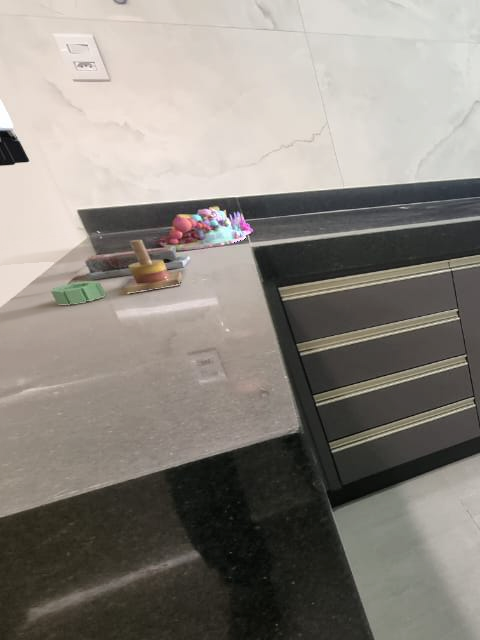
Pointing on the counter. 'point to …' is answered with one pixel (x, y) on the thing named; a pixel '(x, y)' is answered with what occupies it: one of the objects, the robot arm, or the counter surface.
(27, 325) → the counter surface
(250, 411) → the counter surface
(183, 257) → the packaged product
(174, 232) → the candy landscape model
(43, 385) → the counter surface
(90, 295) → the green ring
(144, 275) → the stacking stand
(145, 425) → the counter surface
